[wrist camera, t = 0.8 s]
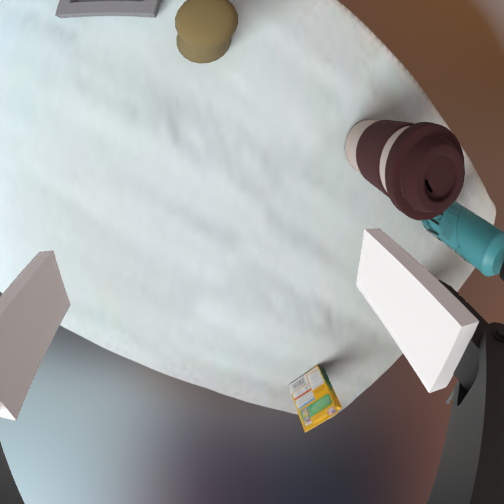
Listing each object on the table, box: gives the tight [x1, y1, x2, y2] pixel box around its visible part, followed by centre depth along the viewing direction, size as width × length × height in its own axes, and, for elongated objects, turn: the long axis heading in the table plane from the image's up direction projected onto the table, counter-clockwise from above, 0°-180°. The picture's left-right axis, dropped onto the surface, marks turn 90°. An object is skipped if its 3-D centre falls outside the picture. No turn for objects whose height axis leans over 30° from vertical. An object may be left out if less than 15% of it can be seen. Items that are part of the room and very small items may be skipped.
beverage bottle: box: [422, 201, 504, 281], centre depth 35 cm, size 6×7×20 cm
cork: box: [175, 0, 238, 63], centre depth 24 cm, size 6×6×11 cm
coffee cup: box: [345, 120, 465, 220], centre depth 31 cm, size 10×10×15 cm
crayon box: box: [289, 365, 342, 432], centre depth 53 cm, size 7×3×12 cm, turn 132°
